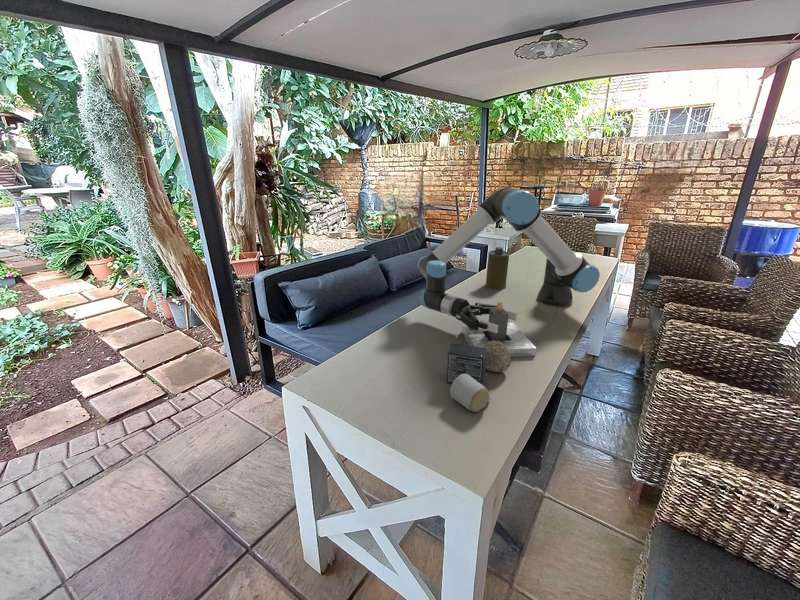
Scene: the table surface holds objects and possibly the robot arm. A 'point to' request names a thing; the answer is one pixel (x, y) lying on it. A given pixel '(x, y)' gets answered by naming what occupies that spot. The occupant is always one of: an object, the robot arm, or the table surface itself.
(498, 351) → the stone
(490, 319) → the plug
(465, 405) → the white short cylinder
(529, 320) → the table surface
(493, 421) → the table surface
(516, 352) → the socket
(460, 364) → the small box
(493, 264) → the canister
